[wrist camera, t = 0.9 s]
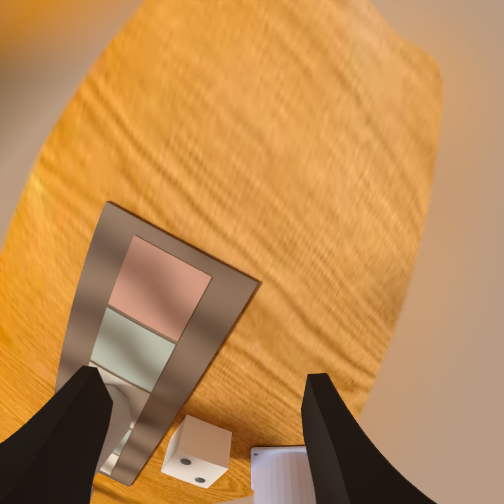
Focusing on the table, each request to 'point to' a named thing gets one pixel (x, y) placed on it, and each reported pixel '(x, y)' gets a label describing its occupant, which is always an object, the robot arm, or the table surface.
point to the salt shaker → (115, 425)
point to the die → (198, 452)
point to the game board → (148, 325)
